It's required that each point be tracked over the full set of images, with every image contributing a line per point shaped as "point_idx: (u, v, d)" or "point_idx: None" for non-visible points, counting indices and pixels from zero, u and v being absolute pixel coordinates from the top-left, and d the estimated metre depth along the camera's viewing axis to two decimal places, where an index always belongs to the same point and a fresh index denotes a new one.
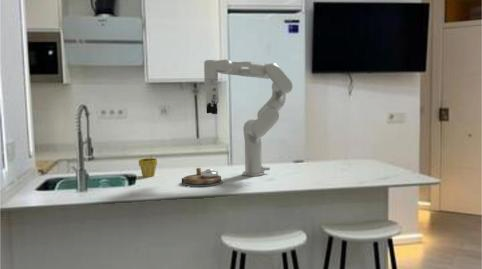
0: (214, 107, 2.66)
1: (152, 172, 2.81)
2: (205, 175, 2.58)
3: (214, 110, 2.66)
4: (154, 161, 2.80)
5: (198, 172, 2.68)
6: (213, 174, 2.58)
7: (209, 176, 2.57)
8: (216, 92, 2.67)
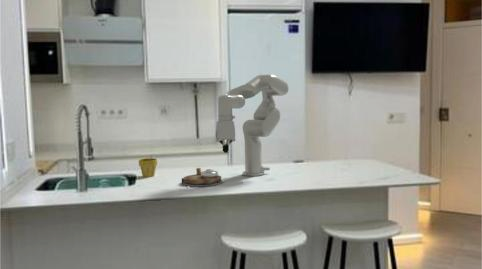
0: None
1: (152, 172, 2.81)
2: (205, 175, 2.58)
3: None
4: (154, 161, 2.80)
5: (198, 172, 2.68)
6: (213, 174, 2.58)
7: (209, 176, 2.57)
8: None
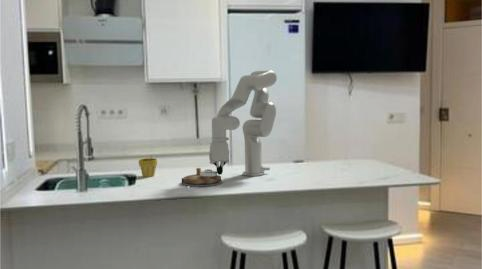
0: None
1: (152, 172, 2.81)
2: (204, 175, 2.58)
3: None
4: (154, 161, 2.80)
5: (198, 172, 2.68)
6: (212, 174, 2.58)
7: (208, 176, 2.57)
8: None
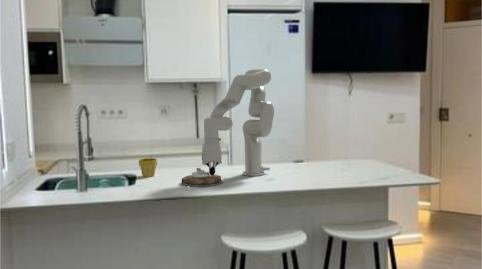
0: None
1: (152, 172, 2.81)
2: (196, 176, 2.56)
3: (214, 171, 2.62)
4: (154, 161, 2.80)
5: None
6: (204, 175, 2.56)
7: (200, 177, 2.56)
8: None
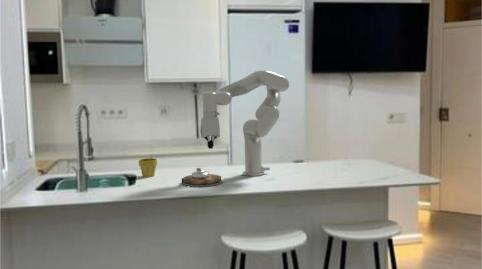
0: None
1: (152, 172, 2.81)
2: (196, 176, 2.56)
3: None
4: (154, 161, 2.80)
5: None
6: (204, 175, 2.56)
7: (200, 177, 2.56)
8: None
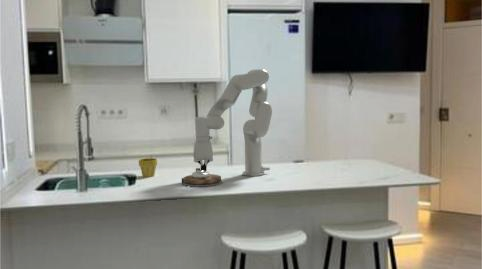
0: None
1: (152, 172, 2.81)
2: (196, 176, 2.56)
3: None
4: (154, 161, 2.80)
5: None
6: (204, 175, 2.56)
7: (201, 177, 2.56)
8: None
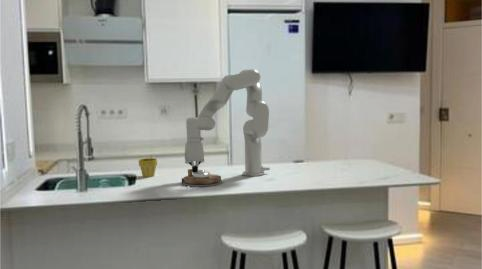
0: None
1: (152, 172, 2.81)
2: (202, 176, 2.55)
3: (197, 169, 2.68)
4: (154, 161, 2.80)
5: (191, 173, 2.65)
6: (209, 174, 2.58)
7: (206, 176, 2.56)
8: None
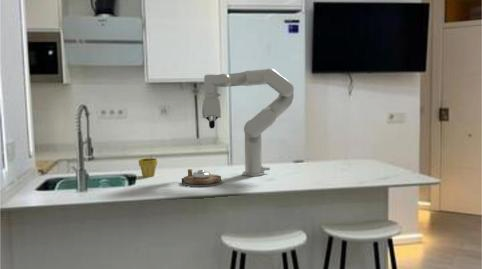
0: None
1: (152, 172, 2.81)
2: (202, 176, 2.55)
3: (214, 124, 2.81)
4: (154, 161, 2.80)
5: (191, 173, 2.65)
6: (209, 174, 2.58)
7: (206, 176, 2.56)
8: None
